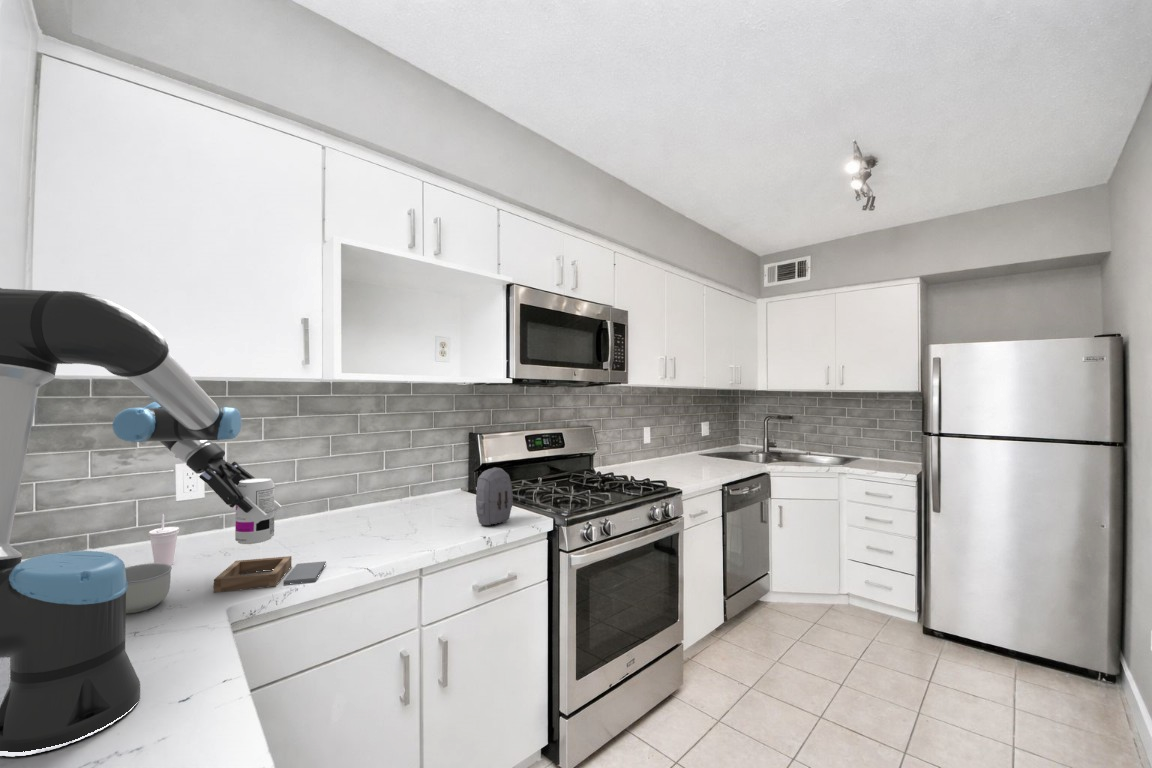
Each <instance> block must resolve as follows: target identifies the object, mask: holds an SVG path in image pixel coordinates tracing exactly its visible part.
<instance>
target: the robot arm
mask: <svg viewBox="0 0 1152 768" xmlns="http://www.w3.org/2000/svg"><path fill="white" fill-rule="evenodd" d="M60 364H61V365H65V364H66V365H74V364H77V365H79V364H81V365H92V366H96V367H97V366H98V367H101V368H104V369H105V370H107V371H108V372H109V373H111V374H113V375H115V376H117V377H121V378H127V380H129V381H130V382H132V383H133V385H135V386H136V387H137V388H138V389H140V390H141V392H143V393H145V395H147V396H148V397H149V398H150V399H151V400H153V401H154V402H151V403H149V404H147V405H145V406H144V407H137V406H136V407H129V408H125V409H123V410H121V411H120V412H118V413H117V414H116V415H115V417H114V418H113V421H112V432H113V434H114V435H115V436H116V437H117V438H118V439H120V440H122V441H125V442H130V443H131V442H132V443H143V442H144V443H145V442H160V443H161V444H162V445H163V446H164V447H165V448H167V449H168V451H170V452H171V453H173V454H174V457H175V459H179V460H180V461H182V462H183V463H184V462H185V463H186V466H187V467H188V468H189V469H190V470H192V471H193V473H195V474H200V475H199V476H198V477H199V479H201V480H202V481H203V482H204V483H206V484H207V486H209V488H211V489H212V490H213V492H214V493H215V494H216V495H218V497H219V498H220V500H222V501H223V502H224V503H225V505H228V506H229V507H230V508H232V509H233V508H234V507H236V506H238V507H239V508H240V509H241V510H242V511H243V512H244V513H246V514H247V515H248V516H249V517H250V518H251V519H252V520H254V521H255V522H256V523H259V522H260V521H261V520H262V519H263V518H264V517H265V516H266V515H267V514H266V513H265V512H264V511H262V510H261V509H260V508H259V507H258V506H257V505H256V504H255V503H253V502H252V501H251V500H250V499H249V498H248V497H245V498H244V497H243V495H242V494H241V492H240V491H239V490H238V488H237V486H238V484H239V481H241V480H246V479H254V478H255V476H253V475H252V474H250V472H248V471H246V470H245V469H244V468H242V466H241V465H240V464H239V463H237V461H232V463H230V462H228V461H227V460H224V457H225V455H226V451H225V450H224V449H223V448H222V447H220V446H219V445H218V444H217V443H215V442H213V441H218V442H219V441H222V440H233V439H235V438H237V437H238V435H239V434H240V432H241V428H242V416H241V413H240V411H239V410H238V409H237V408H235V407H227V406H223V407H220V406H219V405H218V404H217V403H215V401H214V400H213V399H212V398H211V397H210V396H209V395H208V393H206V391H205V390H204V389H203V388H202V386H200V385H199V384H198V383H197V381H195V379H194V378H193V377H192V376H191V375H190V374H189V373H188V372H187V371H186V369H184V367H183V366H182V365H181V364H180V363H179V362H178V361H177V359H175V358H174V357H173V355H172V354H171V353H170V345H169V343H168V341H167V340H166V339H165V337H164V336H163V335H162V334H161V333H160V332H159V331H158V330H157V329H156V328H155V327H154V326H153V325H151V324H150V322H147V321H146V320H145V319H143V318H142V317H140V316H139V315H137V314H136V313H134V312H132V311H131V310H129V309H128V308H125V307H123V306H122V305H120V304H118V303H115V302H114V301H111V300H109V299H106V298H103V297H101V296H98V295H95V294H91V293H86V292H80V291H74V290H72V291H71V290H70V291H69V290H68V291H67V290H61V291H59V290H44V289H43V290H42V289H41V290H40V289H39V290H38V289H22V288H21V289H19V288H2V287H0V659H1V658H9V668H10V670H9V671H10V672H9V675H10V676H9V684H8V688H7V689H6V692H5V694H4V697H3V699H2V701H1V704H0V751H8V752H23V751H24V752H25V751H31V750H36V749H42V748H46V747H51V746H55V745H59V744H63V743H66V742H69V741H72V740H75V739H78V738H80V737H82V736H85V735H87V734H88V733H91V732H94V731H95V730H97V729H100V728H102V727H104V726H106V725H107V724H109V723H111V722H113V721H114V720H116V719H117V718H119V717H121V716H122V715H124V714H125V713H126V712H128V711H129V710H130V709H131V708H132V707H133V706H134V705H135V704H136V703H137V702H138V701H139V702H140V700H139V699H141V681H140V678H139V677H138V674H137V673H136V671H135V669H134V666H133V663H132V661H131V660H130V658H129V656H128V654H127V651H126V632H127V631H126V630H127V629H126V628H127V627H126V626H127V625H126V624H127V621H126V620H127V619H126V618H127V613H126V590H127V587H128V583H127V580H126V572H125V568H126V566H125V562H124V561H123V560H122V559H121V558H120V557H118V556H117V555H115V554H113V553H109V552H104V551H99V550H98V551H97V550H96V551H95V550H73V551H65V552H62V553H61V552H60V553H57V552H56V553H48V554H43V555H39V556H34V557H31V558H27V559H25V560H23V561H22V558H23V553H21V552H20V551H19V550H17V549H15V548H14V547H13V546H12V545H11V543H10V542H11V536H12V532H13V525H14V520H15V515H16V510H17V506H18V500H19V493H20V491H21V490H20V489H21V484H22V478H23V473H24V469H25V468H24V467H25V461H26V457H27V453H28V452H27V451H28V447H29V441H30V437H31V436H30V435H31V431H32V426H33V420H34V414H35V408H36V405H37V399H38V393H39V389H40V388H41V387H42V386H44V385H46V384H47V383H50V382H52V381H53V380H55V378H56V372H57V371H56V370H57V367H58V365H60ZM243 498H244V499H243ZM282 507H283V506H282V505H281V504H280V503H279V502H278V501H277V500H275V502H274V514H276V512H278V511H279V510H280V509H281V508H282ZM139 702H138V703H139Z"/></svg>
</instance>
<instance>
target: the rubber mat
mask: <svg viewBox="0 0 1152 768" xmlns="http://www.w3.org/2000/svg"><path fill="white" fill-rule="evenodd" d="M325 563H326V564H327V561H326V560H324V561H313V562H302V563H301V562H300V563H296V564H295V566H294V567H293V568H292V570H291V571H290V572H289V573H288V574H287V576H286V577H284V578H285V579H283V583H282V584H288V585H291V584H290V583H298V584H302V583H301V582H309V583H315V582H316V581H317V580H318V578H319V577H318V575H319V574H320V575H321V573H322V572H321V570H322V569H323V567H324V565H325ZM324 568H325V567H324ZM323 570H324V569H323ZM323 570H322V571H323ZM320 572H321V573H320ZM320 575H319V576H320ZM317 577H318V578H317ZM316 579H317V580H316Z"/></svg>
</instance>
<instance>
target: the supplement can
mask: <svg viewBox="0 0 1152 768" xmlns="http://www.w3.org/2000/svg"><path fill="white" fill-rule="evenodd" d="M275 485H276V484H275V482H274V481H273V479H272V477H271V478H270V477H254V479H246V480H241V481H239V484H238V486H237V485H236V487H237V488H238V490H239V491H240V492H241V494H242V495H243V497H244V498H245V497H248V498H249V499H250V500H251V501H252V502H253V503H255V504H256V505H257V506H258V507H259V508H260V509H261V510H262V511H264V512H265V513H266V514H267V515H266V516H265V517H264V518H263V519H262V520H261V521H260V522H259V523H256V522H255V521H254V520H252V519H251V518H250V517H249V516H248V515H247V514H246V513H244V512H243V511H242V510H241V509H240V508H239V507H238V506H236V505H235V525H234V526H235V529H234V530H235V532H234V533H235V541H236V542H237V543H238V544H241V545H252V544H259V543H263V542H267V541H270V540H271V539H272V538H273V537H274V536H275V513H274V502H275V501H276V500H275V499H276V497H275V495H276V490H275V489H276V487H275ZM244 498H243V499H244Z"/></svg>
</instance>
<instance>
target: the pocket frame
mask: <svg viewBox="0 0 1152 768" xmlns="http://www.w3.org/2000/svg"><path fill="white" fill-rule="evenodd" d="M290 567H291V568H292V556H291V555H289V556H280V557H279V556H278V557H277V556H276V557H275V556H274V557H267V558H266V557H264V558H254V559H253V558H252V559H242V560H234V562H233V563H231V564H230V565H229V566H228V567H226V568H225V569H224V570H223V571H222V572H221V573H219V575H217V576H216V577H215V578H213V593H221V592H233V591H241V590H240V589H244V590H251V589H250V588H254V589H259V588H258V587H264V588H268V587H267V586H275V587H277V586H278V584H279V583H280V582H281V581H282V580H281V578H282V577H283V576H284V574H285V573H286V572H287V571H288V570H289V568H290ZM272 569H274V570H273V571H269V572H256V571H263V570H272ZM289 571H290V570H289ZM289 571H288V572H289ZM247 572H254V573H247ZM288 572H287V573H288ZM240 573H243V574H240ZM287 573H286V574H287ZM284 577H285V576H284ZM284 577H283V578H284ZM283 578H282V579H283ZM280 580H281V581H280ZM279 581H280V582H279ZM278 582H279V583H278ZM277 583H278V584H277ZM276 585H277V586H276Z"/></svg>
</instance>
